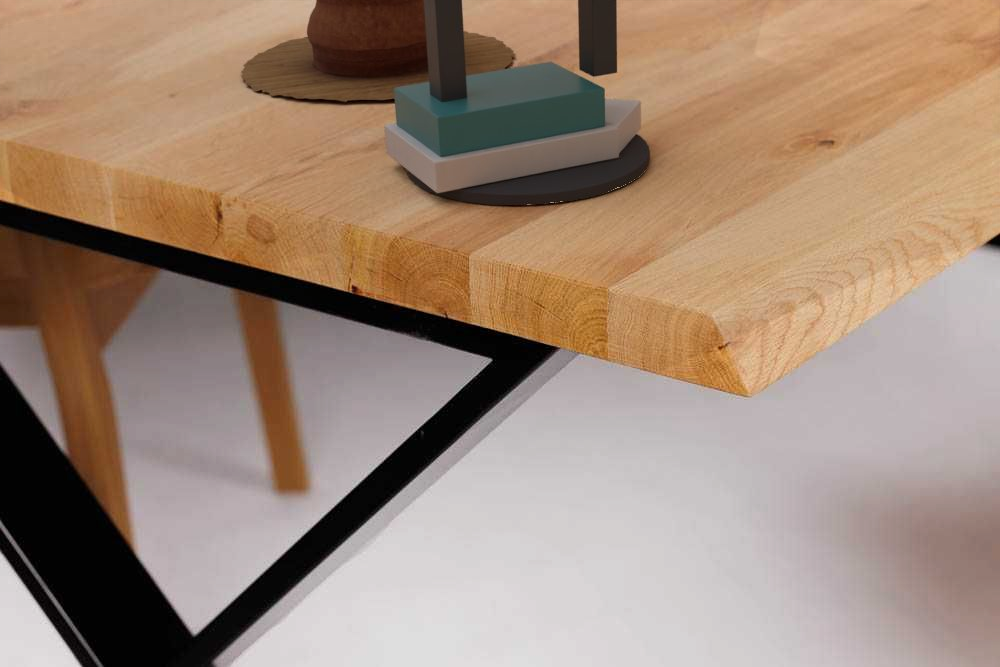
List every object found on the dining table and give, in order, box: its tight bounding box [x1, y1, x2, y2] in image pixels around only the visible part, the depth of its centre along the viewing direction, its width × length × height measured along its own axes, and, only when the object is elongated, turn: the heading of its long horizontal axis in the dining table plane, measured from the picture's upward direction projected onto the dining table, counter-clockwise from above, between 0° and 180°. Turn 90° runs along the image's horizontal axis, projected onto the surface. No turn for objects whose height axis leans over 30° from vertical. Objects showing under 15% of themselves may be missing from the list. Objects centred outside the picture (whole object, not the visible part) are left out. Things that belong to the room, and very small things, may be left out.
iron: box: [383, 0, 642, 193], centre depth 72 cm, size 13×7×12 cm, turn 115°
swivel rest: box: [406, 133, 651, 206], centre depth 75 cm, size 13×13×1 cm
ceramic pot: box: [240, 0, 516, 103], centre depth 92 cm, size 18×18×7 cm
